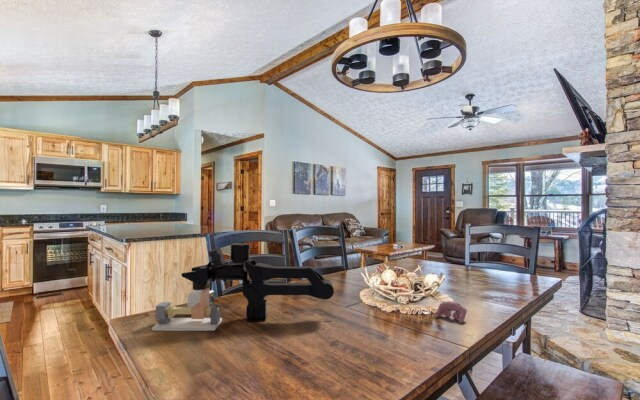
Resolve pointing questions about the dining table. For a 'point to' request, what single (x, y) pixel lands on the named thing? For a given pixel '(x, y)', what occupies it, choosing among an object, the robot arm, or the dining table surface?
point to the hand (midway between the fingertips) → (186, 272)
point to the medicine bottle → (199, 296)
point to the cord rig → (185, 324)
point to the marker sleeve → (201, 306)
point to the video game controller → (453, 306)
